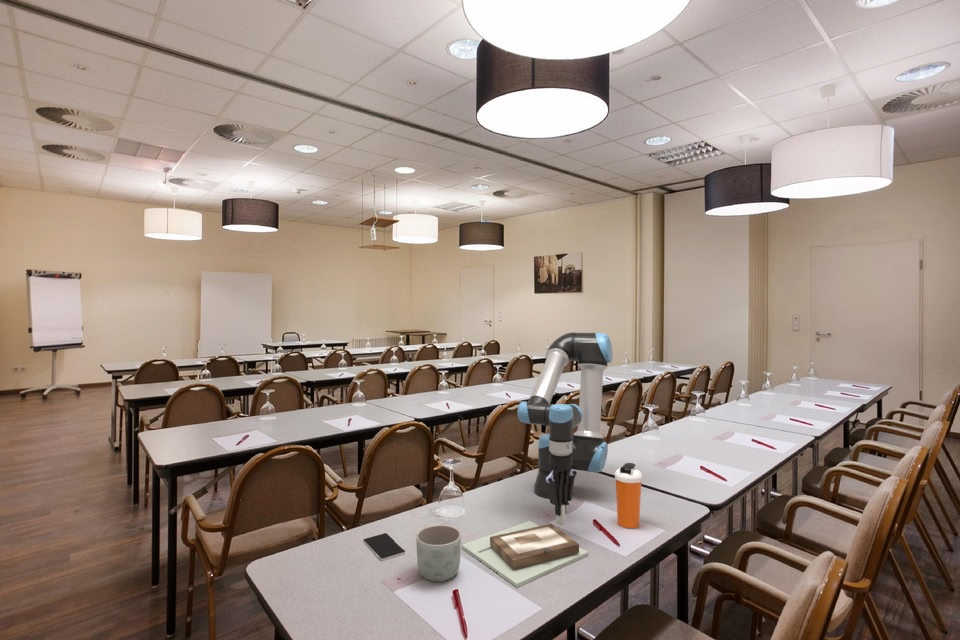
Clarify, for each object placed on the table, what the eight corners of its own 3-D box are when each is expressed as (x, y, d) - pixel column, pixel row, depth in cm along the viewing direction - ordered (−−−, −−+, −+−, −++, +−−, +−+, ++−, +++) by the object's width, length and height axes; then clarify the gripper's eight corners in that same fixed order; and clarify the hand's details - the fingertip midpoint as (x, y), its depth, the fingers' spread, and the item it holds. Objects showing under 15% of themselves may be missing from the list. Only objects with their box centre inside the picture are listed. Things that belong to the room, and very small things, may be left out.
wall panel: (461, 548, 148) (461, 544, 148) (529, 523, 164) (529, 520, 164) (516, 587, 127) (516, 583, 127) (588, 555, 143) (588, 551, 143)
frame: (490, 545, 147) (489, 534, 147) (551, 531, 156) (551, 521, 156) (514, 570, 132) (514, 559, 132) (580, 553, 141) (581, 543, 141)
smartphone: (386, 532, 157) (406, 550, 145) (386, 536, 157) (406, 554, 145) (362, 539, 152) (381, 558, 140) (362, 543, 152) (381, 562, 140)
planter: (443, 591, 125) (443, 550, 125) (407, 577, 132) (406, 538, 132) (469, 569, 136) (469, 531, 135) (434, 557, 142) (434, 521, 142)
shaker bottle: (643, 521, 166) (643, 463, 166) (640, 532, 158) (640, 471, 158) (616, 516, 170) (617, 460, 170) (612, 526, 162) (612, 467, 162)
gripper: (554, 459, 150) (554, 534, 151) (583, 451, 158) (582, 523, 158) (538, 453, 156) (538, 525, 157) (566, 446, 164) (566, 515, 164)
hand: (560, 524), depth 158 cm, fingers closed
